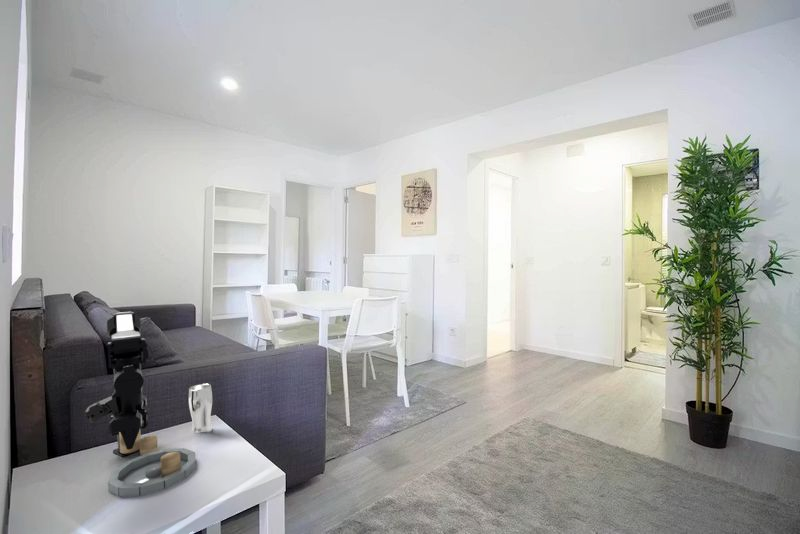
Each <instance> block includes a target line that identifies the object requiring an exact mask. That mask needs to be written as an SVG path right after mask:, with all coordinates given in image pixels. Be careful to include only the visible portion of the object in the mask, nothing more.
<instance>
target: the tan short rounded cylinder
mask: <svg viewBox="0 0 800 534" xmlns="http://www.w3.org/2000/svg"><path fill="white" fill-rule="evenodd" d="M180 468H181V461H180V453H179V452H171V453H167V454H165V455H163V456H162V457H161V478H163V477H165V476H167V475H169V474H172V473H174V472H176V471H178V470H179V469H180Z"/></svg>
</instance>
